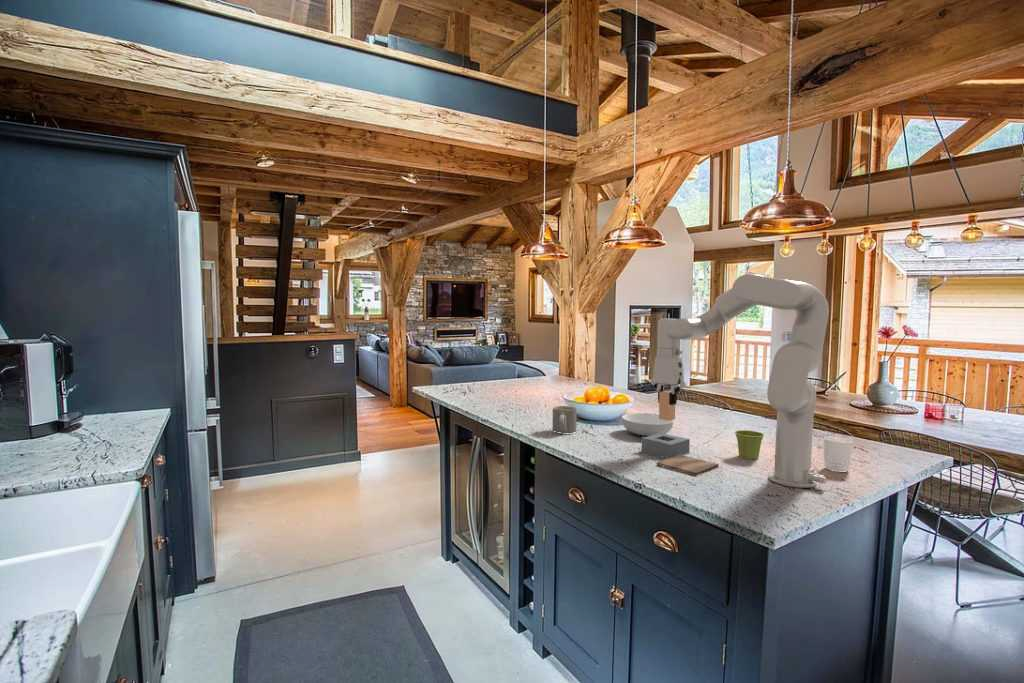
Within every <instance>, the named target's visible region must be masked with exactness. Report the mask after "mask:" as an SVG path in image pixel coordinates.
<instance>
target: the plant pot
mask: <svg viewBox="0 0 1024 683" xmlns="http://www.w3.org/2000/svg"><path fill="white" fill-rule="evenodd" d="M734 434H735V437H736V439H737V440H736V441H737V449H738V457H740V458H741V459H745V460H749V459H751V460H752V459H755V460H758V459H759V457H760V451H761V445H762V441H763V438H764V437H765V433H762V432H760V431H755V430H747V429H743V430H740V429H739V430H736V431H734Z"/></svg>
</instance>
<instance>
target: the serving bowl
mask: <svg viewBox="0 0 1024 683" xmlns="http://www.w3.org/2000/svg"><path fill="white" fill-rule="evenodd" d="M674 420H675V419H674ZM674 420H670V421H667V420H662V419H659V413H647V412H646V413H645V412H631V413H626V414H623V415H622V416H621V422H622V425H623V427H624V428H625V429H626V430H627V431H628V432H630V433H632V434H635V435H637V436H640V435H641V436H640V437H645V436H651V435H655V434H658V433H663V434H668V433H669V432H670V431H671V430H672V429H673V426H674V422H675V421H674Z"/></svg>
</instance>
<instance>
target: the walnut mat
mask: <svg viewBox="0 0 1024 683" xmlns="http://www.w3.org/2000/svg"><path fill="white" fill-rule="evenodd" d="M658 465H659V466H658ZM656 466H658V467H662V466H664V467H663V468H665V467H667V468H666V469H669V468H671V469H670V470H673V469H675V470H674V471H676V470H679V471H678V472H680V471H683V472H682V473H684V472H686V473H685V474H687V473H690V474H689V475H691V474H694V475H693V476H695V475H698V474H700V475H702V474H701V473H703V474H705V473H707V471H708V472H711V471H712V469H713V470H715V469H718V468H719V463H715V462H711V461H707V460H702V459H699V458H695V457H690V456H687V455H678V456H675V457H672V458H665V459H663V460H660V461H657V462H656ZM704 472H705V473H704ZM698 476H699V475H698Z"/></svg>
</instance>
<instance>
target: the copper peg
mask: <svg viewBox="0 0 1024 683" xmlns="http://www.w3.org/2000/svg"><path fill="white" fill-rule="evenodd" d="M670 394H672V393H671V390H666V389H665V390H663V391H659V403H658V404H659V406H658V415H659V419H662V420H667V421H670V420H676V404H675V405H670Z"/></svg>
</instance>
